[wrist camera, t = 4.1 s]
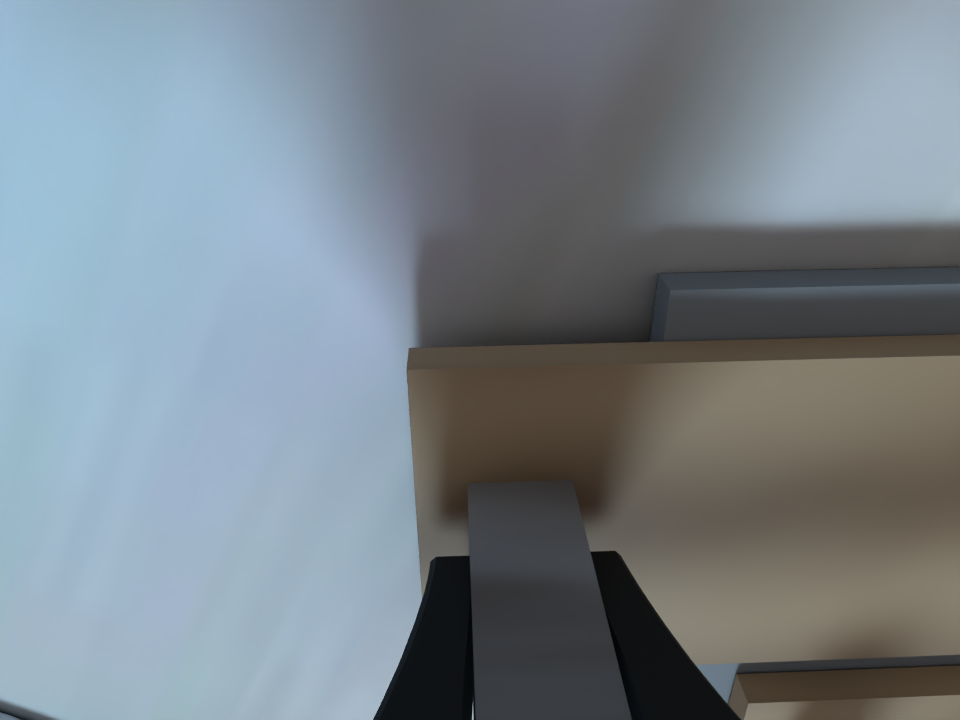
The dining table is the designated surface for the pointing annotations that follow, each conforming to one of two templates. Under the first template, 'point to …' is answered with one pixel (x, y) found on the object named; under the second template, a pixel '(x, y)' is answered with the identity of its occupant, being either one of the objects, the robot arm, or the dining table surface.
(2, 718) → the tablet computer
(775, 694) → the strip
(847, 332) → the lane board
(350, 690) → the dining table surface
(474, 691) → the strip
